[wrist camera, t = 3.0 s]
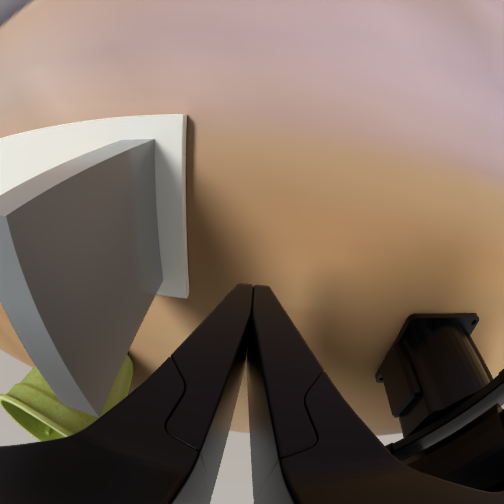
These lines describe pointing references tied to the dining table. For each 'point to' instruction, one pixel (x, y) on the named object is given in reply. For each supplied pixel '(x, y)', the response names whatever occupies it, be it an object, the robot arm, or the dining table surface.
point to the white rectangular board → (104, 133)
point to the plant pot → (56, 405)
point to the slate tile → (82, 266)
